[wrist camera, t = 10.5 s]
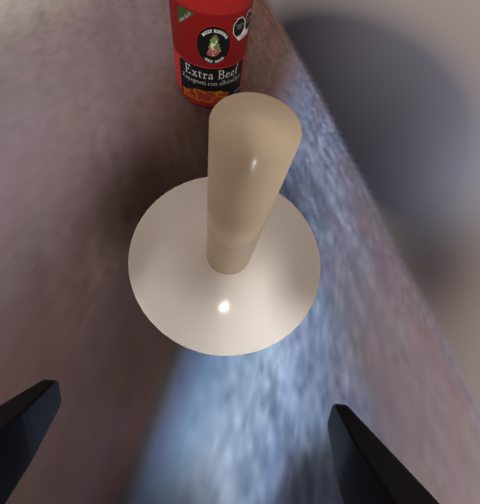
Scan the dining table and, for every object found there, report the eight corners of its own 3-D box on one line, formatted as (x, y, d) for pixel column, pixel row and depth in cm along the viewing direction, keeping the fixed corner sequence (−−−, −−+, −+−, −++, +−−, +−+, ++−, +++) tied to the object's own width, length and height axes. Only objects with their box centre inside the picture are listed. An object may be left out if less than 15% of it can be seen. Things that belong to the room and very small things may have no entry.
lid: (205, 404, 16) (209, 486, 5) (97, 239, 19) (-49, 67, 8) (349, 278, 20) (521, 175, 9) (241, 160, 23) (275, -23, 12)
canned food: (177, 109, 31) (165, -16, 21) (176, 62, 34) (164, -67, 24) (244, 110, 32) (263, -7, 22) (237, 65, 35) (251, -57, 25)
